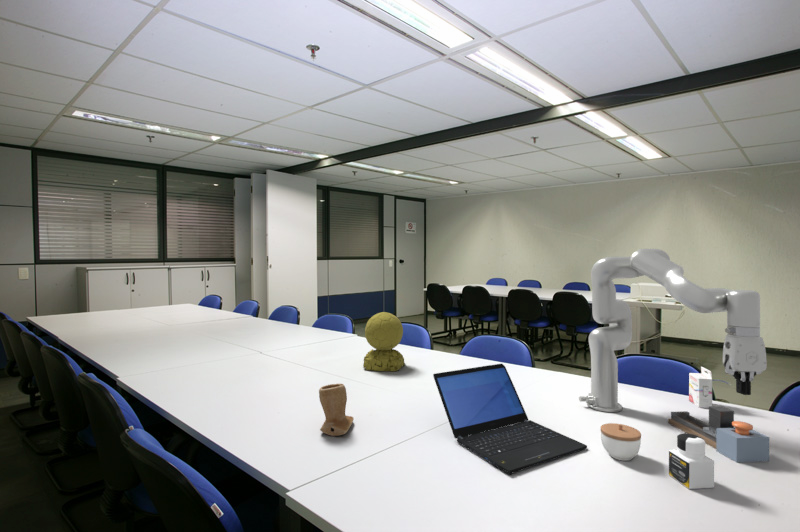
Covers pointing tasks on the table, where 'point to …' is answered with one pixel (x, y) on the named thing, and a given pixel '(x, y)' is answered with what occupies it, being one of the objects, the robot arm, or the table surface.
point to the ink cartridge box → (701, 388)
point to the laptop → (497, 419)
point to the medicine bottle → (691, 463)
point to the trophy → (383, 343)
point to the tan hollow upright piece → (334, 409)
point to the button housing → (742, 445)
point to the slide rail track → (691, 426)
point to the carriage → (719, 419)
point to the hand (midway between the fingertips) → (743, 393)
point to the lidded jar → (620, 441)
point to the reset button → (742, 427)
